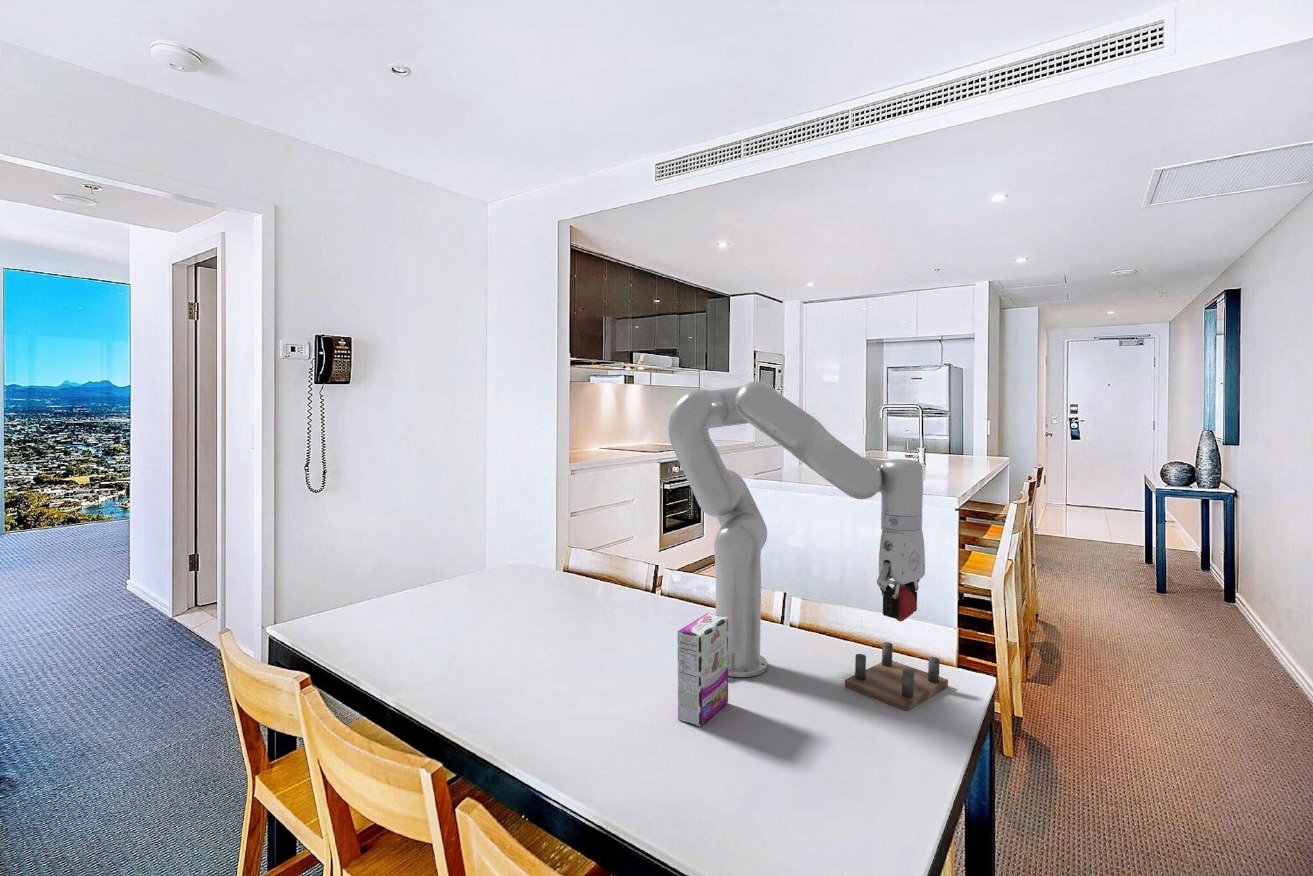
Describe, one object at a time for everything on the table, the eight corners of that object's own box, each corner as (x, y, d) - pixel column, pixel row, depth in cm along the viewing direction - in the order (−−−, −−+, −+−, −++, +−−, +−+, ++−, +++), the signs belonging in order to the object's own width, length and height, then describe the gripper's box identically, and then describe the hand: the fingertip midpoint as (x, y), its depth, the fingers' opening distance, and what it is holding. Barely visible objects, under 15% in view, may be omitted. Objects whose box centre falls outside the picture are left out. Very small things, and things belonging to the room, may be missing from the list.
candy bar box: (705, 696, 123) (706, 612, 122) (728, 703, 120) (730, 617, 119) (675, 720, 113) (676, 629, 112) (700, 728, 111) (701, 635, 110)
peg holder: (906, 711, 118) (907, 679, 117) (844, 686, 127) (845, 657, 127) (947, 686, 128) (948, 657, 128) (887, 666, 138) (888, 638, 137)
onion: (879, 616, 129) (880, 577, 129) (906, 615, 130) (907, 576, 130) (892, 626, 124) (893, 585, 123) (921, 625, 124) (922, 584, 124)
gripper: (896, 531, 117) (894, 628, 118) (941, 520, 129) (939, 608, 129) (859, 525, 123) (858, 618, 124) (905, 515, 134) (904, 600, 135)
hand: (899, 612), depth 127 cm, fingers closed on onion, 5 cm apart
